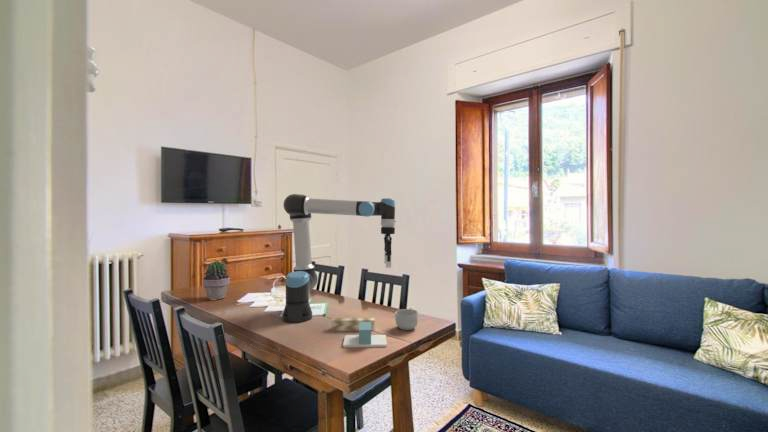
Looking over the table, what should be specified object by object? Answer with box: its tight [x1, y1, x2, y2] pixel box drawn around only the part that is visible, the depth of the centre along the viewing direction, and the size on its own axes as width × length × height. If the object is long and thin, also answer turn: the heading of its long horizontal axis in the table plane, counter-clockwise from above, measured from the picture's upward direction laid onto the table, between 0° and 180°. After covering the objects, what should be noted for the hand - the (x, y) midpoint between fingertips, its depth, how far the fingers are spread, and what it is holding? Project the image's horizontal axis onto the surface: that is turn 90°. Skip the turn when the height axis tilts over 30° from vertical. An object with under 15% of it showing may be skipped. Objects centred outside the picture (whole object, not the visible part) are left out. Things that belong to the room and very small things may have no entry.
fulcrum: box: [342, 322, 388, 348], centre depth 148 cm, size 18×11×7 cm, turn 92°
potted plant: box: [200, 257, 231, 300], centre depth 218 cm, size 18×20×25 cm
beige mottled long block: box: [331, 317, 376, 332], centre depth 164 cm, size 20×4×5 cm, turn 92°
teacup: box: [394, 308, 419, 331], centre depth 167 cm, size 14×11×8 cm
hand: (387, 265), depth 190 cm, fingers open, 13 cm apart
